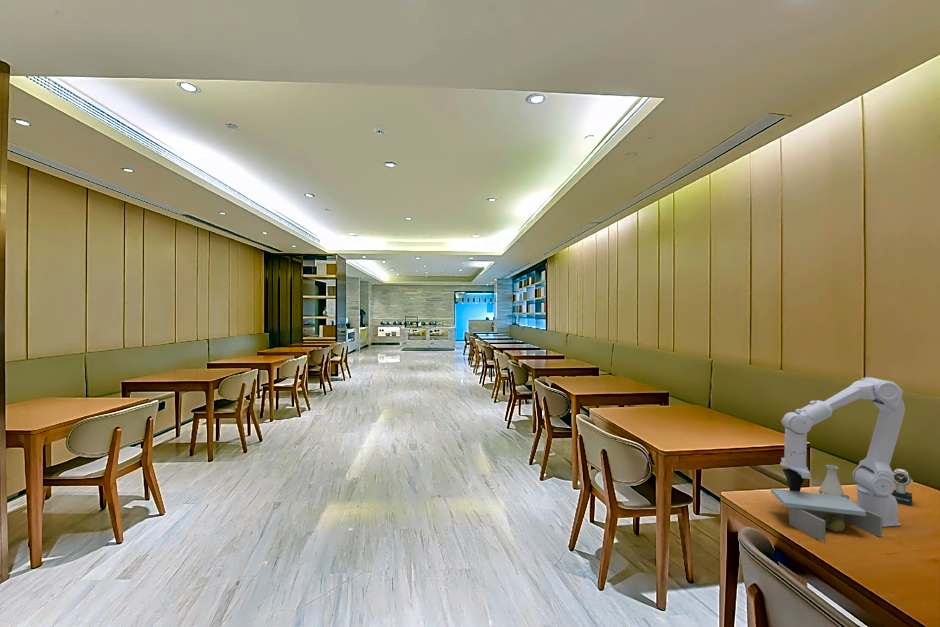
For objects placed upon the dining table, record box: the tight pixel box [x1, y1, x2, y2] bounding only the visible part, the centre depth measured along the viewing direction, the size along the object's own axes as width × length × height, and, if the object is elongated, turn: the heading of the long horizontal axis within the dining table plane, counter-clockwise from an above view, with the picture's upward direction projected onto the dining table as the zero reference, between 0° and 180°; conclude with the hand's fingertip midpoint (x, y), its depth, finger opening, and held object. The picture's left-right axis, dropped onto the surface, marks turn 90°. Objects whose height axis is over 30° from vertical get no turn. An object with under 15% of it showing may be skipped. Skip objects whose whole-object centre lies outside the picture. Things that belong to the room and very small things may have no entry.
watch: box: [891, 468, 914, 507], centre depth 154 cm, size 6×8×11 cm
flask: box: [818, 464, 845, 496], centre depth 160 cm, size 7×7×10 cm
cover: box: [770, 488, 866, 516], centre depth 137 cm, size 21×13×1 cm, turn 74°
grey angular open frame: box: [788, 507, 883, 542], centre depth 132 cm, size 20×11×6 cm, turn 100°
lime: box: [823, 514, 846, 533], centre depth 132 cm, size 4×5×5 cm
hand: (794, 493), depth 144 cm, fingers closed
